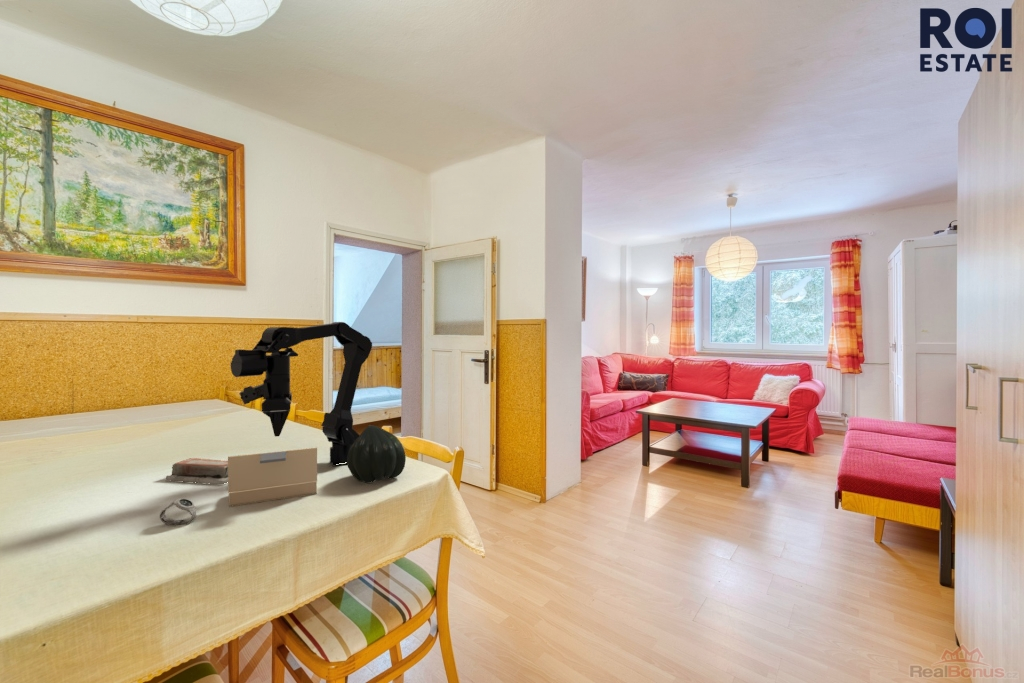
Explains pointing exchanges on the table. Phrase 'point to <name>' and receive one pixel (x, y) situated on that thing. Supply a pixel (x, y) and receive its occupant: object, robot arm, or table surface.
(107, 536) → the table surface
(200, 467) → the packaged product
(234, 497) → the cardboard box
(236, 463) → the lid
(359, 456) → the squash
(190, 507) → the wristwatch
